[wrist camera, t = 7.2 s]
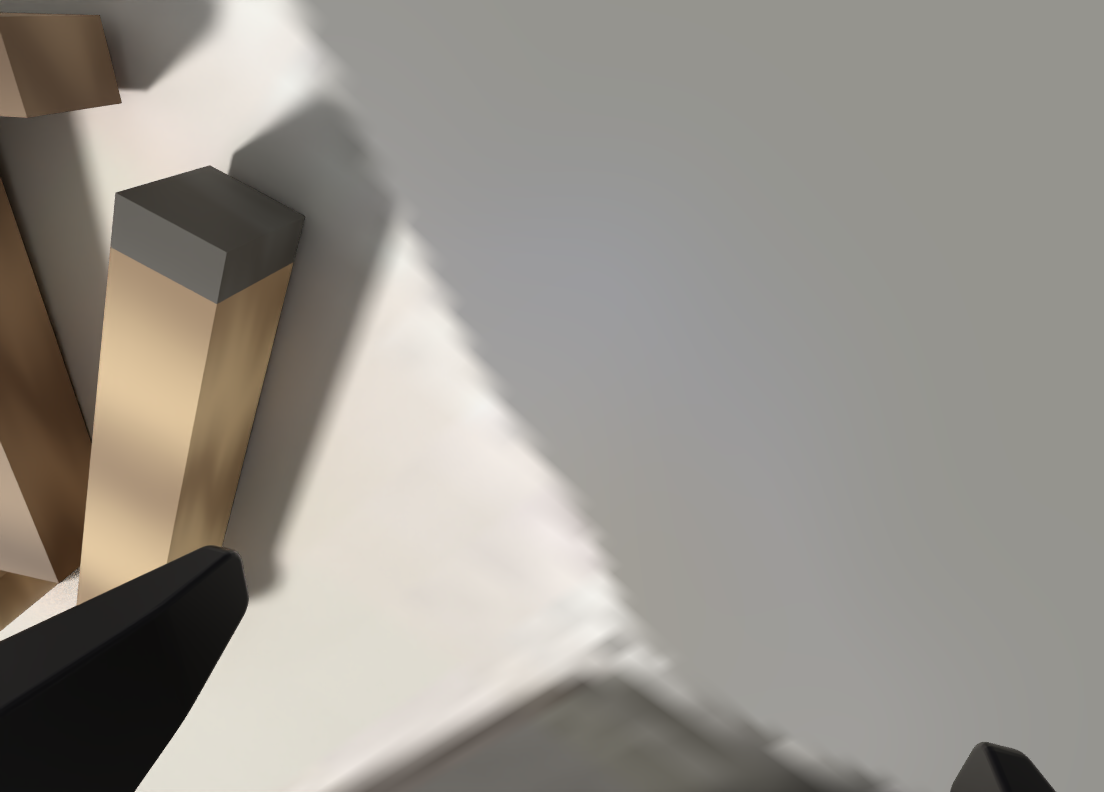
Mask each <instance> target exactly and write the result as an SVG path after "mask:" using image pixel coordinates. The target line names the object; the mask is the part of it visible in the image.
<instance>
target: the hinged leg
mask: <svg viewBox="0 0 1104 792" xmlns="http://www.w3.org/2000/svg"><path fill="white" fill-rule="evenodd" d="M304 219H305V216H303V215H302V214H300V213H298V212H296V211H294V210H292V209H290V208H289V207H287V206H285V205H283V204H281V203H279V202H277V201H275V200H274V199H272V198H270V197H268V196H266V195H264V194H262V193H261V192H259V191H257V190H255V189H253V188H251V187H249V186H247V185H246V184H244V183H242V182H240V181H238V180H236V179H234V178H233V177H231V176H229V175H227V174H225V173H223V172H221V171H219V170H218V169H216V168H214V167H212V166H206V167H203V168H199V169H196V170H192V171H189V172H185V173H182V174H179V175H175V176H172V177H168V178H165V179H161V180H158V181H154V182H151V183H148V184H144V185H141V186H137V187H134V188H130V189H127V190H123V191H120V192H117V193H116V194H115V204H114V215H113V225H112V236H111V247H110V257H109V268H108V278H107V289H106V300H105V310H104V321H103V331H102V342H101V352H100V363H99V374H98V384H97V395H96V405H95V416H94V427H93V437H92V448H91V458H90V469H89V479H88V490H87V501H86V511H85V522H84V532H83V543H82V554H81V564H80V575H79V585H78V596H77V605H79V604H81V603H83V602H85V601H88V600H90V599H92V598H94V597H96V596H98V595H100V594H103V593H105V592H107V591H109V590H111V589H113V588H115V587H118V586H120V585H122V584H124V583H126V582H128V581H130V580H133V579H135V578H137V577H139V576H141V575H143V574H145V573H147V572H150V571H152V570H154V569H156V568H158V567H160V566H162V565H165V564H167V563H169V562H171V561H173V560H175V559H177V558H180V557H182V556H184V555H186V554H188V553H190V552H192V551H195V550H197V549H199V548H201V547H204V546H207V545H215V546H219V547H222V544H223V540H224V536H225V532H226V528H227V524H228V521H229V517H230V513H231V509H232V505H233V501H234V497H235V493H236V489H237V485H238V481H239V477H240V473H241V469H242V465H243V461H244V457H245V453H246V449H247V445H248V441H249V437H250V433H251V429H252V425H253V421H254V417H255V413H256V409H257V405H258V401H259V397H260V393H261V389H262V385H263V382H264V378H265V374H266V370H267V366H268V362H269V358H270V354H271V350H272V346H273V342H274V338H275V334H276V330H277V326H278V322H279V318H280V314H281V310H282V306H283V302H284V298H285V294H286V290H287V286H288V282H289V278H290V274H291V270H292V266H293V262H294V258H295V254H296V250H297V246H298V242H299V239H300V235H301V231H302V227H303V223H304Z"/></svg>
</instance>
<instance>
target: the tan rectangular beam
mask: <svg viewBox="0 0 1104 792" xmlns="http://www.w3.org/2000/svg"><path fill="white" fill-rule="evenodd" d="M120 103H122V102H121V98H120V94H119V90H118V86H117V82H116V78H115V74H114V70H113V66H112V62H111V58H110V54H109V50H108V46H107V42H106V38H105V34H104V30H103V26H102V22H101V18H100V15H78V14H39V13H0V116H7V117H23V118H29V117H35V116H42V115H48V114H55V113H61V112H68V111H74V110H81V109H87V108H94V107H100V106H107V105H113V104H120ZM91 448H92V443H91V440H90V438H89V435H88V432H87V429H86V426H85V423H84V420H83V417H82V414H81V411H80V408H79V405H78V402H77V399H76V397H75V394H74V391H73V388H72V385H71V382H70V379H69V376H68V373H67V370H66V367H65V364H64V361H63V358H62V356H61V353H60V350H59V347H58V344H57V341H56V338H55V335H54V332H53V329H52V326H51V323H50V320H49V317H48V314H47V312H46V309H45V306H44V303H43V300H42V297H41V294H40V291H39V288H38V285H37V282H36V279H35V276H34V273H33V271H32V268H31V265H30V262H29V259H28V256H27V253H26V250H25V247H24V244H23V241H22V238H21V235H20V232H19V229H18V227H17V224H16V221H15V218H14V215H13V212H12V209H11V206H10V203H9V200H8V197H7V194H6V191H5V188H4V186H3V183H2V180H1V177H0V631H1V630H2V629H4V628H5V627H6V626H7V625H8V624H10V623H11V622H12V621H13V620H14V619H16V618H17V617H18V616H19V615H21V614H22V613H23V612H24V611H25V610H27V609H28V608H29V607H30V606H32V605H33V604H34V603H35V602H36V601H38V600H39V599H40V598H41V597H43V596H44V595H45V594H46V593H47V592H49V591H50V590H51V589H52V588H54V587H55V586H56V585H57V584H58V583H60V582H61V581H62V580H63V579H65V578H66V577H67V576H68V575H70V574H71V573H72V572H73V571H74V570H76V569H77V568H78V567H79V566H80V564H81V554H82V543H83V532H84V522H85V511H86V501H87V490H88V479H89V469H90V458H91Z"/></svg>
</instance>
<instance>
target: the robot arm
mask: <svg viewBox="0 0 1104 792" xmlns="http://www.w3.org/2000/svg"><path fill="white" fill-rule="evenodd" d="M248 600H249V593H248V588H247V583H246V578H245V573H244V568H243V563H242V559H241V556H240V555H239V554H238V552H236V551H234V550H231V549H227V548H223V547H219V546H215V545H207V546H204V547H201V548H199V549H197V550H195V551H192V552H190V553H188V554H186V555H184V556H182V557H180V558H177V559H175V560H173V561H171V562H169V563H167V564H165V565H162V566H160V567H158V568H156V569H154V570H152V571H150V572H147V573H145V574H143V575H141V576H139V577H137V578H135V579H133V580H130V581H128V582H126V583H124V584H122V585H120V586H118V587H115V588H113V589H111V590H109V591H107V592H105V593H103V594H100V595H98V596H96V597H94V598H92V599H90V600H88V601H85V602H83V603H81V604H79V605H77V606H75V607H73V608H71V609H68V610H66V611H64V612H62V613H60V614H58V615H56V616H53V617H51V618H49V619H47V620H45V621H43V622H41V623H38V624H36V625H34V626H32V627H30V628H28V629H26V630H23V631H21V632H19V633H17V634H15V635H13V636H11V637H9V638H6V639H4V640H2V641H0V792H135V790H136V789H137V787H138V786H139V784H140V783H141V782H142V780H143V779H144V777H145V776H146V774H147V773H148V772H149V770H150V769H151V767H152V766H153V764H154V763H155V761H156V760H157V759H158V757H159V756H160V754H161V753H162V751H163V750H164V749H165V747H166V746H167V744H168V743H169V741H170V740H171V739H172V737H173V736H174V734H175V733H176V731H177V730H178V728H179V727H180V725H181V724H182V722H183V721H184V719H185V718H186V716H187V714H188V713H189V711H190V709H191V708H192V706H193V704H194V703H195V701H196V699H197V697H198V696H199V694H200V692H201V690H202V689H203V687H204V685H205V683H206V681H207V680H208V678H209V676H210V674H211V673H212V671H213V669H214V667H215V666H216V664H217V662H218V660H219V658H220V657H221V655H222V653H223V651H224V650H225V648H226V646H227V644H228V643H229V641H230V639H231V637H232V635H233V634H234V632H235V630H236V628H237V627H238V625H239V623H240V621H241V620H242V618H243V616H244V614H245V612H246V609H247V606H248ZM950 792H1055V790H1054V789H1053V788H1052V787H1051V785H1050V784H1049V783H1048V781H1047V780H1046V779H1045V778H1044V777H1043V775H1042V774H1041V773H1040V772H1039V770H1038V769H1037V768H1036V767H1035V765H1034V764H1033V763H1032V761H1031V760H1030V759H1029V758H1028V757H1027V756H1025V755H1024V754H1023V753H1022V752H1020V751H1018V750H1015V749H1012V748H1008V747H1004V746H1000V745H996V744H993V743H989V742H981V743H979V744H977V745H976V746H975V747H974V749H973V750H972V752H971V753H970V755H969V757H968V759H967V760H966V762H965V764H964V765H963V767H962V769H961V770H960V772H959V774H958V776H957V777H956V779H955V781H954V782H953V785H952V788H951V791H950Z"/></svg>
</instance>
